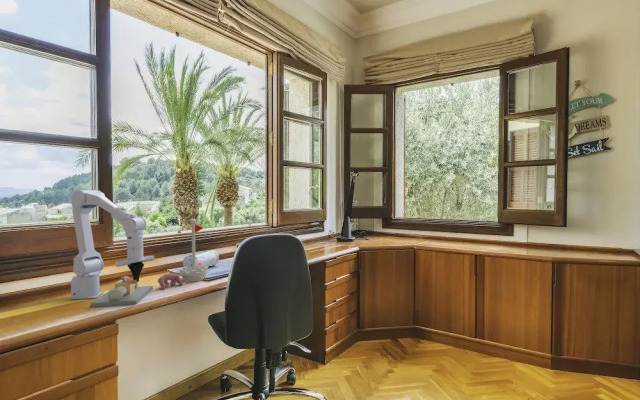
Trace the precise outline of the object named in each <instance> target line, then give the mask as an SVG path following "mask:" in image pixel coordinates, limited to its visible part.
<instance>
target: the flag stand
mask: <svg viewBox="0 0 640 400" xmlns="http://www.w3.org/2000/svg"><path fill="white" fill-rule="evenodd" d="M189 223H190V224H191V255H192V268H189V269H188V267H183V266H182V268H180V269H179V276H181V277H182V278H181V280H182V282H186V283H187V282H188V283H189V282H190V283H193V282H199V281H203V279H204V278H205V277H207V273H209V267H206V266H201V268H197V266H196V261H195V255H196V233H198V232H199V231H201V230H203V229H204V227H202V226H200V225H197V219H195V218H191V219H190V220H189ZM204 280H205V279H204Z"/></svg>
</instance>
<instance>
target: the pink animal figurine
mask: <svg viewBox="0 0 640 400" xmlns="http://www.w3.org/2000/svg"><path fill="white" fill-rule="evenodd" d="M169 281H170V282H169ZM157 283H158V284H159V286H160V288H161V289H163V290H165V289H166V288H167V287H169V286H173V287H174V286H175V285H176V284H177V283H178V285H180V286H183V284H184V281H183V280H182V278H181V277H180V274H177V273H176V272H175V273H165V274H163V275H161V276H160V277H159V278H158V279H157Z"/></svg>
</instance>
